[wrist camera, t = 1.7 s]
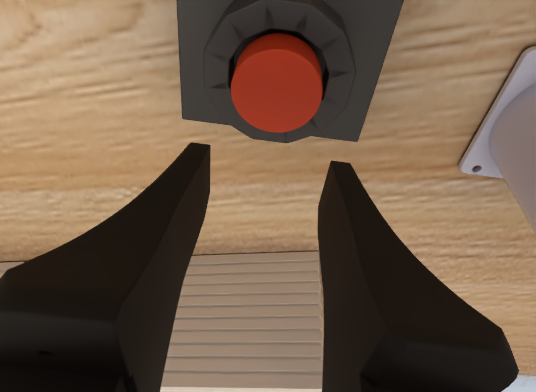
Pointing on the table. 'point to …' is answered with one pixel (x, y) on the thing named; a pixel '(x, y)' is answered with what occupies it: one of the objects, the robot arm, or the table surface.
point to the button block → (296, 24)
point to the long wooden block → (246, 324)
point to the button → (277, 83)
